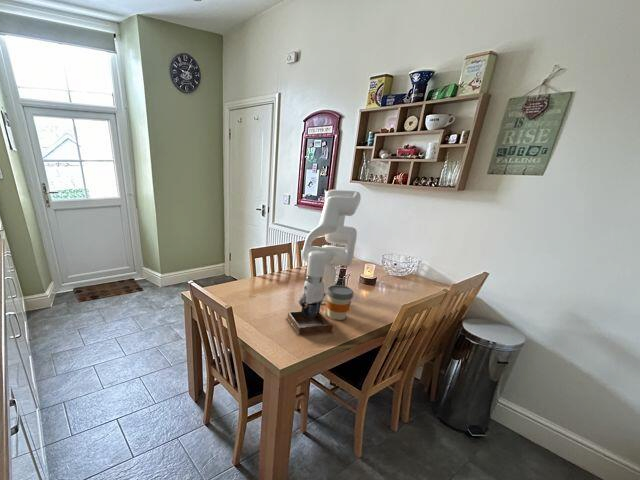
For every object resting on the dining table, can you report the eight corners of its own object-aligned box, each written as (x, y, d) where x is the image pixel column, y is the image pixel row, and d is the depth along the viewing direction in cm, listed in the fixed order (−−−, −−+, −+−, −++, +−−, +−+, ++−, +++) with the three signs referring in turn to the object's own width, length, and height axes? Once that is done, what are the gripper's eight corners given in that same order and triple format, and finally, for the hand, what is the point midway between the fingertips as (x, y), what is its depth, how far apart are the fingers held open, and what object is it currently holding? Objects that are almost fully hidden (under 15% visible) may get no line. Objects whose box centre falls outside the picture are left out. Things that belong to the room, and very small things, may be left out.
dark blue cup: (314, 310, 161) (315, 299, 159) (319, 317, 155) (321, 306, 153) (301, 311, 160) (302, 300, 157) (306, 318, 154) (307, 307, 151)
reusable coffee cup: (327, 308, 177) (331, 283, 171) (351, 314, 171) (356, 288, 165) (320, 318, 167) (324, 291, 161) (345, 324, 161) (350, 296, 155)
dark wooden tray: (317, 316, 168) (318, 309, 167) (331, 332, 154) (332, 325, 152) (287, 319, 165) (288, 311, 164) (298, 335, 151) (299, 327, 149)
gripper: (305, 284, 142) (301, 320, 150) (334, 277, 151) (329, 311, 158) (294, 279, 148) (291, 313, 156) (322, 272, 156) (318, 305, 164)
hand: (310, 312), depth 157 cm, fingers closed on dark blue cup, 7 cm apart
